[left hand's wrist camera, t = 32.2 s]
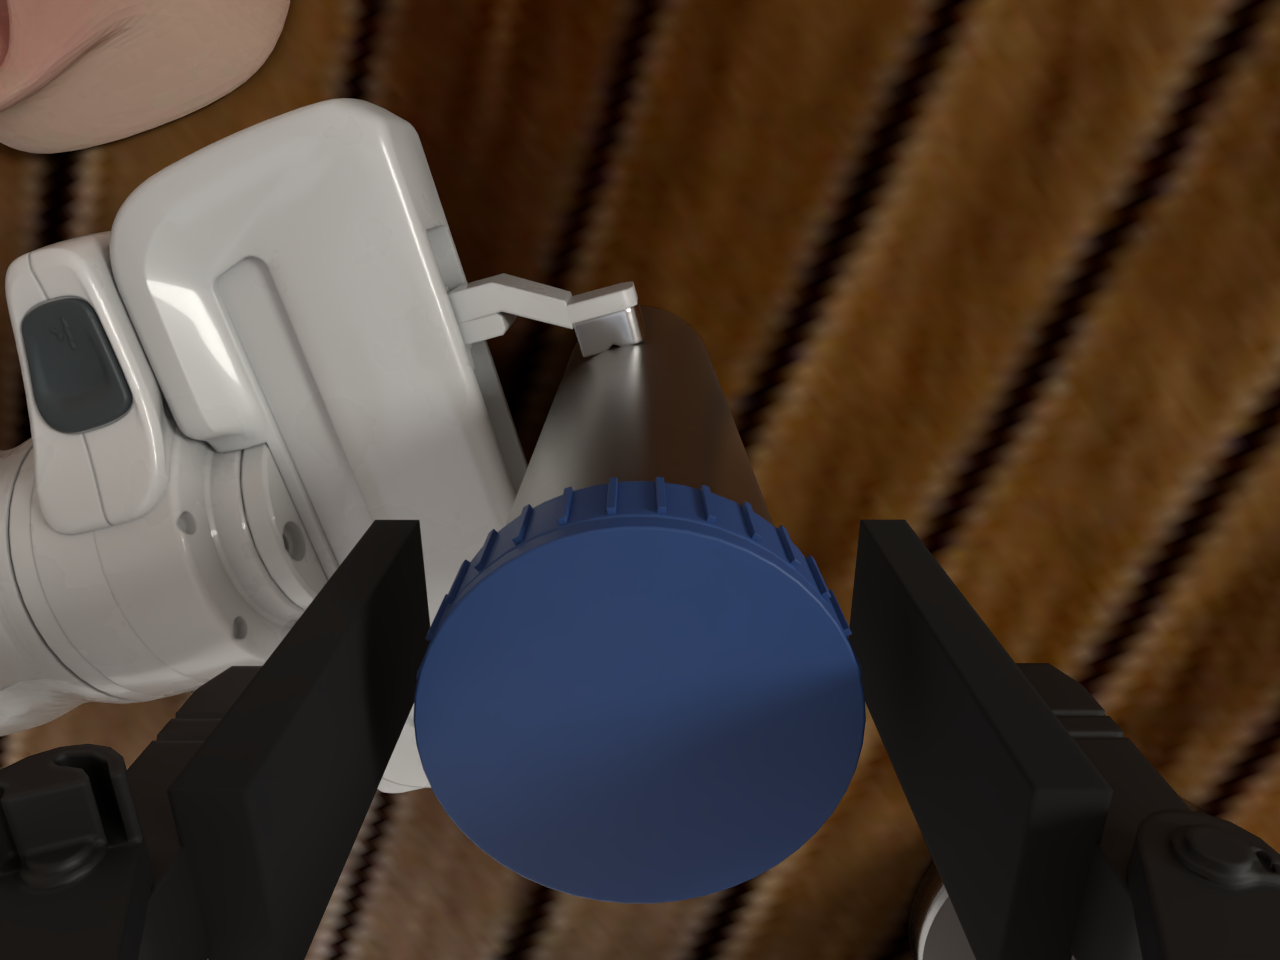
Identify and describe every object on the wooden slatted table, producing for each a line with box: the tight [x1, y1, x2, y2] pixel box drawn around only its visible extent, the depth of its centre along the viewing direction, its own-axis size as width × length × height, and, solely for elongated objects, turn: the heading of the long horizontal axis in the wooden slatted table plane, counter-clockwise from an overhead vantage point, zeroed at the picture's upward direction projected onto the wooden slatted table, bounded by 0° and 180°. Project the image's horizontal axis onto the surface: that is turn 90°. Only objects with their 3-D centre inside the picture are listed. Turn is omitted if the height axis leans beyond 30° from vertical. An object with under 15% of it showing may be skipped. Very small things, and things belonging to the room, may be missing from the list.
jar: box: [505, 306, 774, 526], centre depth 20 cm, size 5×5×19 cm
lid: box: [413, 477, 866, 903], centre depth 11 cm, size 6×6×2 cm
